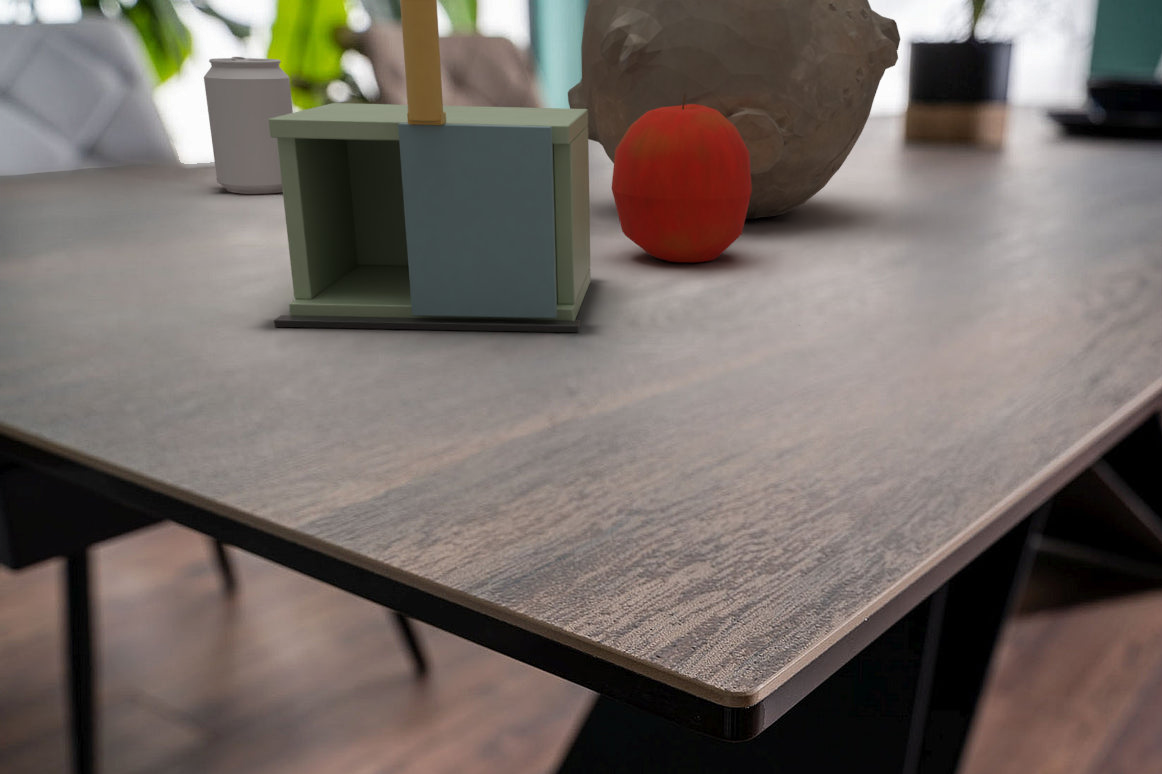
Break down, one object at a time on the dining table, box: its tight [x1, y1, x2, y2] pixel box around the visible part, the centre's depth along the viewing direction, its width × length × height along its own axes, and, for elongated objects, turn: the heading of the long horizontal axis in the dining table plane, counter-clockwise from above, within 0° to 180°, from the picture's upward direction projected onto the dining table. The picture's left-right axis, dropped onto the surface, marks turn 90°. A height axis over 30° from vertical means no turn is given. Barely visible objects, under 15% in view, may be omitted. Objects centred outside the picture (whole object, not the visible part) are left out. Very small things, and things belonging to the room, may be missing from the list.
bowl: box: [567, 0, 901, 220], centre depth 104 cm, size 27×29×20 cm
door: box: [398, 0, 557, 318], centre depth 62 cm, size 8×2×20 cm, turn 91°
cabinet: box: [269, 102, 592, 333], centre depth 70 cm, size 17×14×11 cm
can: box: [203, 56, 294, 195], centre depth 112 cm, size 8×8×12 cm
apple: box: [611, 94, 752, 263], centre depth 85 cm, size 10×10×12 cm
